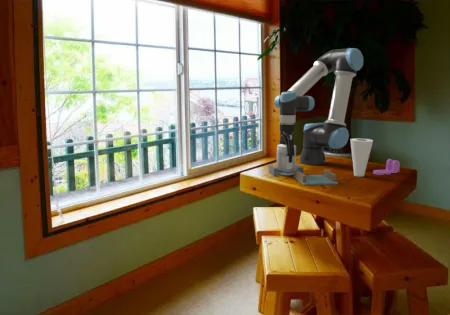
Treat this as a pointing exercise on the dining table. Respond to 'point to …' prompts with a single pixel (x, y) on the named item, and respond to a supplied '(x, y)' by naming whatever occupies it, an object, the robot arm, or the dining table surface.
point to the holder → (274, 170)
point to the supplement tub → (284, 160)
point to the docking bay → (316, 178)
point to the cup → (360, 155)
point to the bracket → (389, 167)
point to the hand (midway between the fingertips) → (285, 166)
